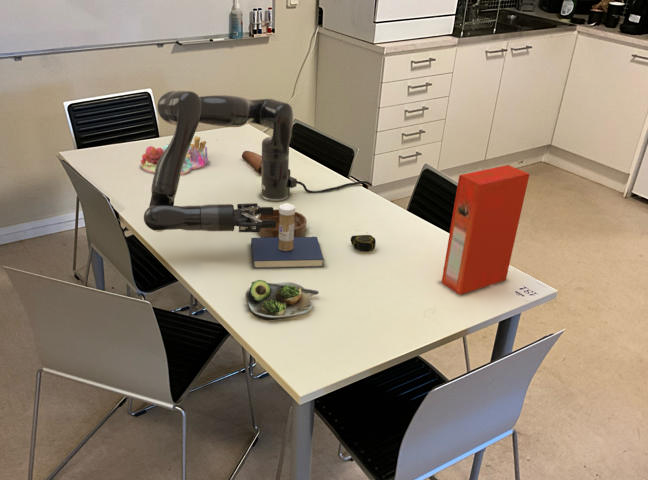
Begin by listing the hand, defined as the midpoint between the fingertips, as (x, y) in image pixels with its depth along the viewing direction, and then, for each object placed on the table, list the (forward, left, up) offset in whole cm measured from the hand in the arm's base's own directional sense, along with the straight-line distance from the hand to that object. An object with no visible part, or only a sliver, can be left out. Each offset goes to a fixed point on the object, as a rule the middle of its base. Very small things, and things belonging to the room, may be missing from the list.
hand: (274, 217), depth 189 cm
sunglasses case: (-45, -57, -13) cm, 74 cm away
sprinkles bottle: (-3, +2, -10) cm, 11 cm away
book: (-3, +2, -13) cm, 13 cm away
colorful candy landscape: (-22, -79, -13) cm, 83 cm away
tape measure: (-24, +14, -13) cm, 30 cm away
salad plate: (+17, +20, -13) cm, 29 cm away
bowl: (-13, -11, -13) cm, 21 cm away
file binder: (-33, +48, -13) cm, 59 cm away
